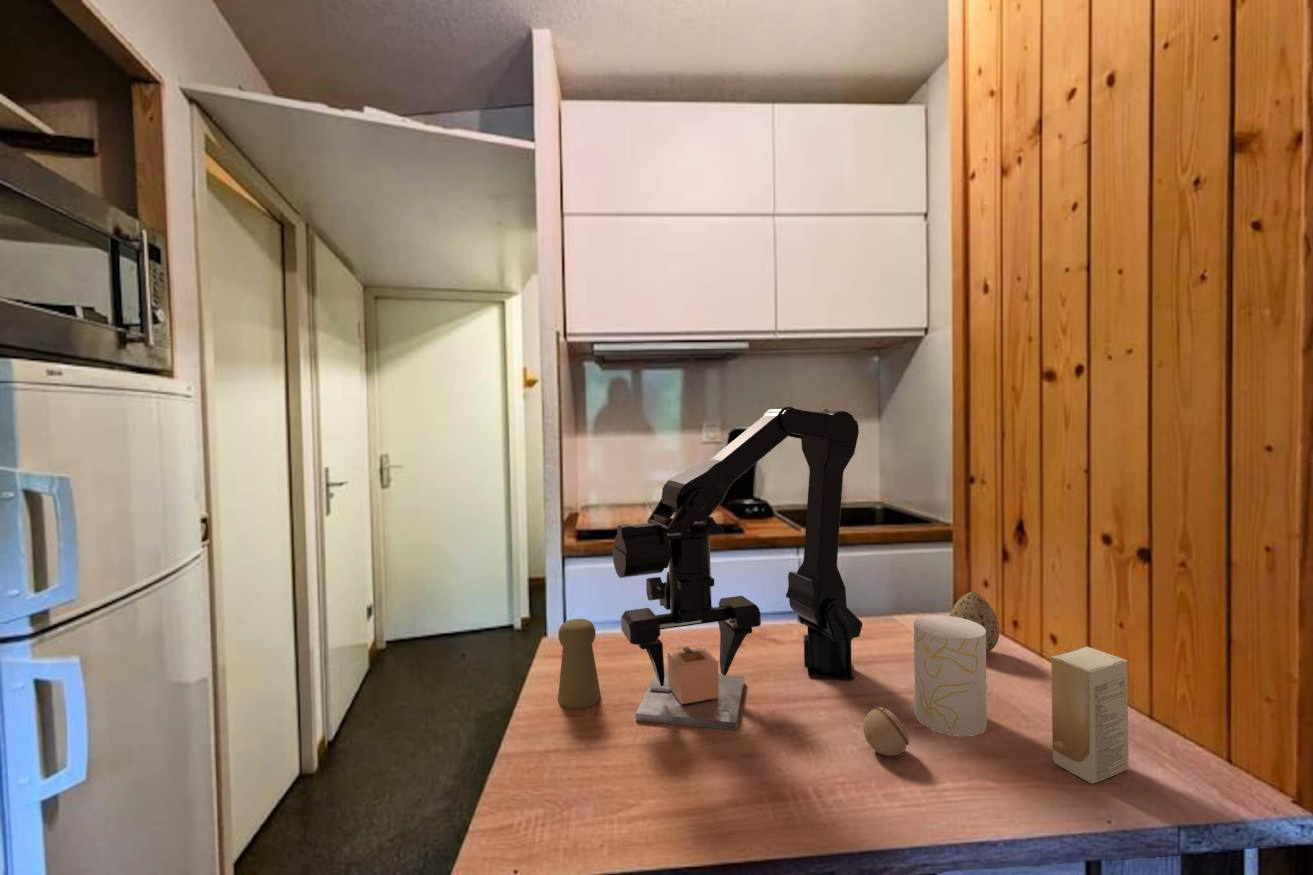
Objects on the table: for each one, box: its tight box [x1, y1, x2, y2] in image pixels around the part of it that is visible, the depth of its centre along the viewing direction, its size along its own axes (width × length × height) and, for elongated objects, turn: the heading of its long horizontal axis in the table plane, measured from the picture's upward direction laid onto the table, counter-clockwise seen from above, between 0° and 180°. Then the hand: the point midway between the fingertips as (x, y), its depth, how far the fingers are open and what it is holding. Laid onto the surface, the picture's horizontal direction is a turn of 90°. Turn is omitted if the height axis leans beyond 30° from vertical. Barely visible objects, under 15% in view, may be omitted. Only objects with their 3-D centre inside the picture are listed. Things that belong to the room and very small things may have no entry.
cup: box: [913, 614, 988, 737], centre depth 73 cm, size 8×8×12 cm
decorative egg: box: [949, 591, 1000, 654], centre depth 93 cm, size 7×7×10 cm
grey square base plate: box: [635, 669, 745, 731], centre depth 80 cm, size 13×13×4 cm
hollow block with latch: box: [667, 646, 719, 704], centre depth 80 cm, size 5×5×5 cm
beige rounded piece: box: [862, 707, 910, 757], centre depth 67 cm, size 5×5×5 cm
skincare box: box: [1050, 646, 1130, 784], centre depth 63 cm, size 6×4×12 cm
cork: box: [557, 618, 602, 710], centre depth 81 cm, size 6×6×11 cm
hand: (692, 679), depth 80 cm, fingers open, 9 cm apart
